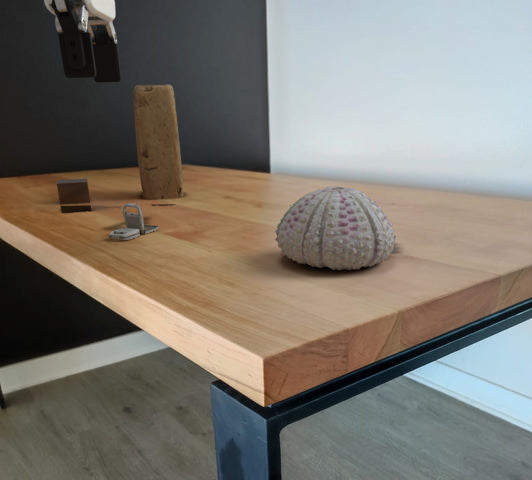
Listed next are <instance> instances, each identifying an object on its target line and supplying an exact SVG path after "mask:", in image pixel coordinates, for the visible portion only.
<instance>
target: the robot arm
mask: <svg viewBox="0 0 532 480" xmlns="http://www.w3.org/2000/svg"><path fill="white" fill-rule="evenodd" d="M115 1H116V0H43V2H44V5H45V8H46V9H47V10H48V11H49V12H50V13H51V14H53V16H55V20H54V24H55V29H56V31H57V36H58V42H59V43H58V44H59V48H60V49H59V50H60V55H61V61H62V67H63V74H64V76H65V77H66V78H67V79H89V78H91V79H92V78H93V80H94V81H95V82H96V83H99V84H100V83H120V82H121V81H122V79H123V78H122V77H123V76H122V70H121V62H120V54H119V45H118V38H117V33H116V30H115V29H116V27H115V26H116V24H115V22H114V20H115V18H116V2H115ZM95 26H96V27H95Z"/></svg>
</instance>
